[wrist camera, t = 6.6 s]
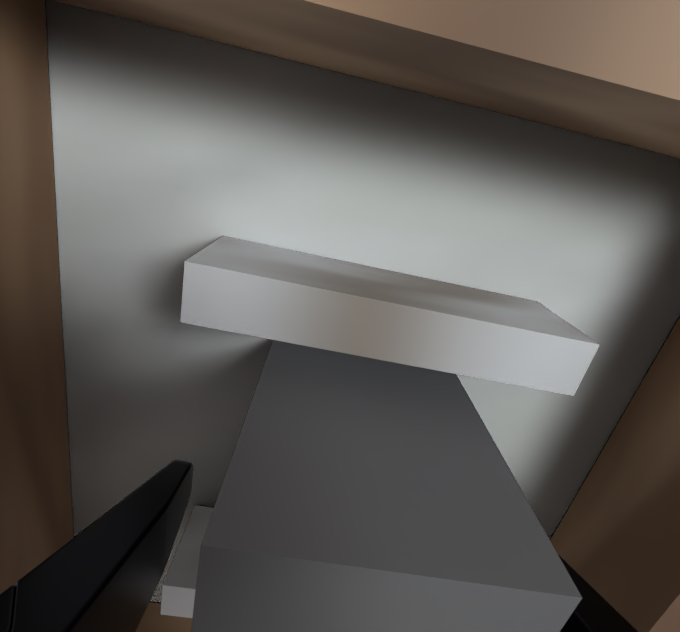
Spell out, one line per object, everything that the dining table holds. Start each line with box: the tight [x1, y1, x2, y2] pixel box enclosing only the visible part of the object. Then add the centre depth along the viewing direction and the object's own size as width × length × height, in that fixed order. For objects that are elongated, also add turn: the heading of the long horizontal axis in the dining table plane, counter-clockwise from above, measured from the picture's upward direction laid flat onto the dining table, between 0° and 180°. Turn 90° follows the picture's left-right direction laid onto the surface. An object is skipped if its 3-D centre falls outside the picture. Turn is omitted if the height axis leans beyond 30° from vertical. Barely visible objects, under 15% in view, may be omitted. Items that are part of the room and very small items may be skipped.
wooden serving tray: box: [0, 0, 680, 632], centre depth 10 cm, size 18×20×4 cm
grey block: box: [191, 340, 582, 632], centre depth 8 cm, size 5×5×7 cm
